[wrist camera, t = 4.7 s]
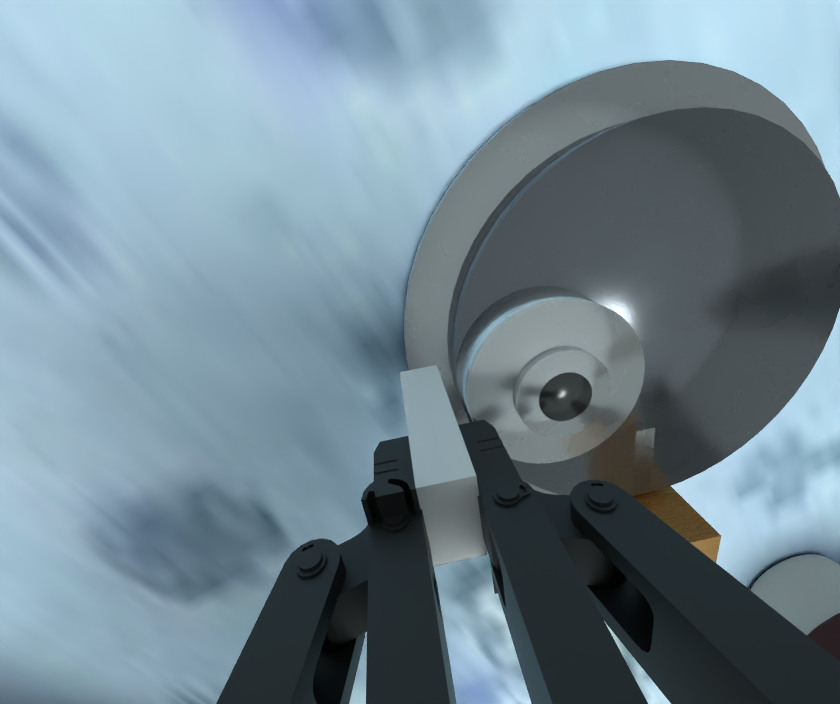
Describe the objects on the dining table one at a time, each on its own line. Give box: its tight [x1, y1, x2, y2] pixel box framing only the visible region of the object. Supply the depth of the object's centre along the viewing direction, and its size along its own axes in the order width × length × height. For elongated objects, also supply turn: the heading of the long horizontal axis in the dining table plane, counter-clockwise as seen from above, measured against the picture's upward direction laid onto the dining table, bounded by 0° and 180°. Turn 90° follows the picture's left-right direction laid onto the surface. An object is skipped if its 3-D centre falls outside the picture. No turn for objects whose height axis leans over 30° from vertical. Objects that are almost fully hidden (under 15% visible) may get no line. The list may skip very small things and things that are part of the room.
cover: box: [456, 286, 645, 464], centre depth 16 cm, size 7×7×3 cm
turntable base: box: [404, 60, 825, 495], centre depth 20 cm, size 22×22×1 cm
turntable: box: [447, 107, 840, 563], centre depth 17 cm, size 18×21×5 cm
